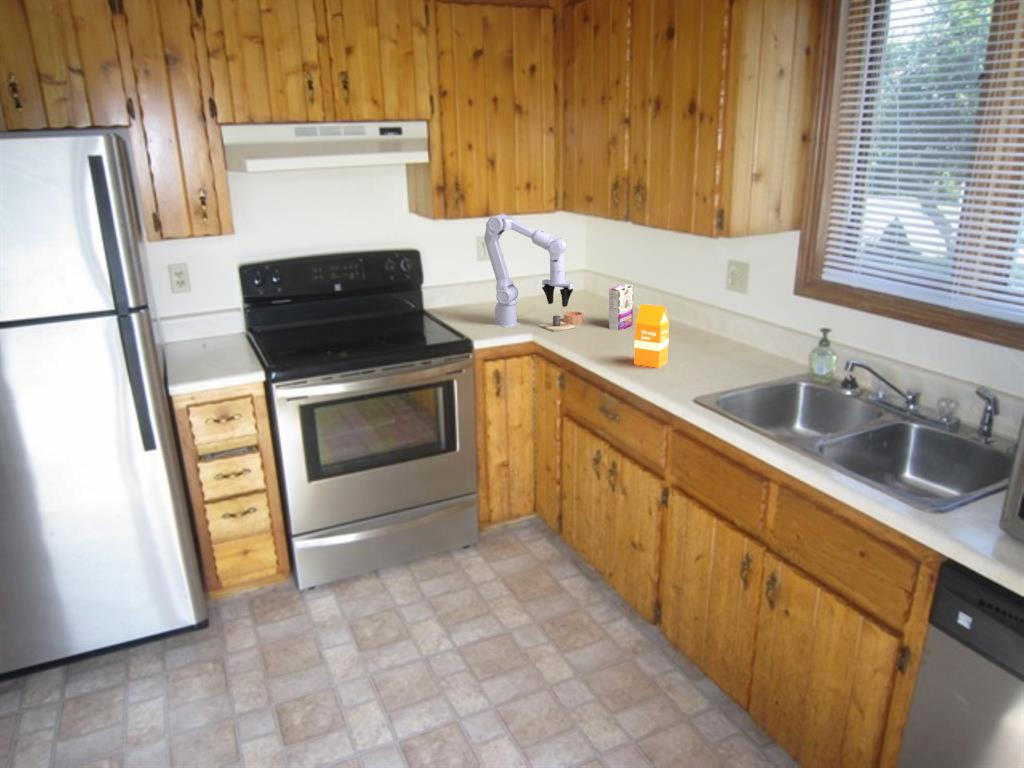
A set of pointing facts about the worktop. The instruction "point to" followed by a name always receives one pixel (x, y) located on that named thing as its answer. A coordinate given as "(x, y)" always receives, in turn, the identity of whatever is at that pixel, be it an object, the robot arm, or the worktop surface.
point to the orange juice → (651, 336)
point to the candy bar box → (620, 307)
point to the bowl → (573, 317)
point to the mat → (555, 331)
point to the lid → (556, 325)
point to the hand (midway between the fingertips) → (557, 305)
